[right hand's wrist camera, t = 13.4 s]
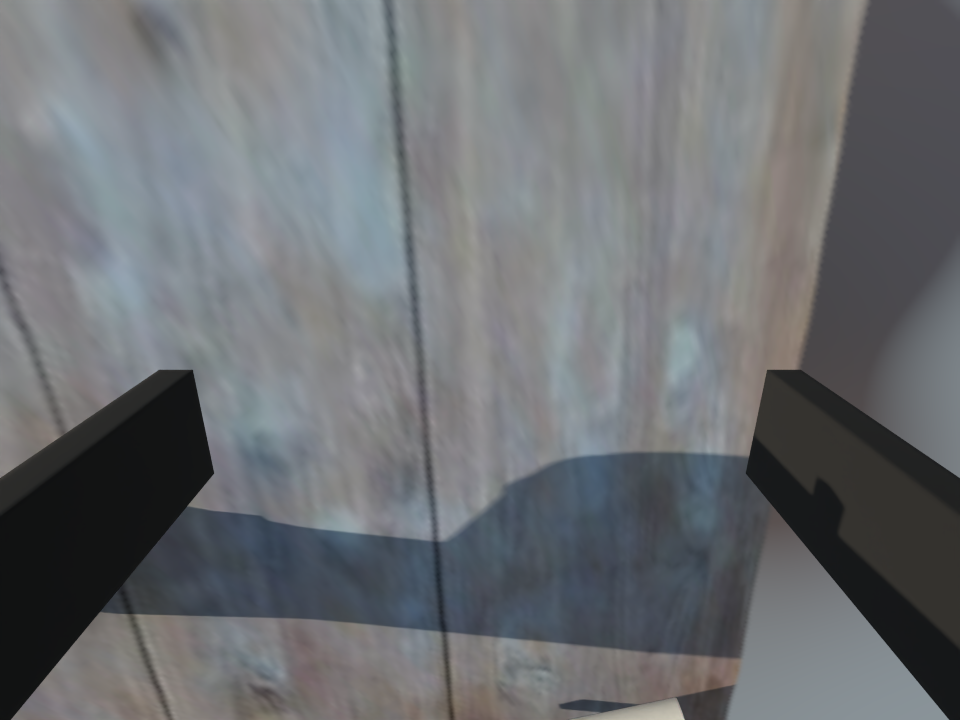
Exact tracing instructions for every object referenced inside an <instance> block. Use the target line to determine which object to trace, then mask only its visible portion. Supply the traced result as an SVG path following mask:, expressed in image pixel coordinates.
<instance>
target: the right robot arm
mask: <svg viewBox="0 0 960 720" xmlns="http://www.w3.org/2000/svg"><path fill="white" fill-rule="evenodd" d="M213 474H214V470H213V465H212V461H211V456H210V451H209V446H208V441H207V436H206V432H205V427H204V422H203V417H202V412H201V407H200V403H199V398H198V393H197V388H196V383H195V378H194V374H193V370H158V371H157V372H155V373H154V374H153V375H151V376H150V377H148V378H147V379H145V380H144V381H142V382H141V383H139V384H138V385H136V386H135V387H133V388H132V389H130V390H129V391H128V392H126V393H125V394H123V395H122V396H120V397H119V398H117V399H116V400H114V401H113V402H111V403H110V404H108V405H107V406H106V407H104V408H103V409H101V410H100V411H98V412H97V413H95V414H94V415H92V416H91V417H89V418H88V419H86V420H85V421H83V422H82V423H81V424H79V425H78V426H76V427H75V428H73V429H72V430H70V431H69V432H67V433H66V434H64V435H63V436H61V437H60V438H59V439H57V440H56V441H54V442H53V443H51V444H50V445H48V446H47V447H45V448H44V449H42V450H41V451H39V452H38V453H37V454H35V455H34V456H32V457H31V458H29V459H28V460H26V461H25V462H23V463H22V464H20V465H19V466H17V467H16V468H14V469H13V470H12V471H10V472H9V473H7V474H6V475H4V476H3V477H1V478H0V720H11V719H12V718H13V716H14V715H15V714H16V713H17V711H18V710H19V709H20V708H21V707H22V705H23V704H24V703H25V702H26V701H27V699H28V698H29V697H30V696H31V695H32V693H33V692H34V691H35V690H36V688H37V687H38V686H39V685H40V684H41V682H42V681H43V680H44V679H45V678H46V676H47V675H48V674H49V673H50V672H51V670H52V669H53V668H54V667H55V665H56V664H57V663H58V662H59V661H60V659H61V658H62V657H63V656H64V655H65V653H66V652H67V651H68V650H69V649H70V647H71V646H72V645H73V644H74V642H75V641H76V640H77V639H78V638H79V636H80V635H81V634H82V633H83V632H84V630H85V629H86V628H87V627H88V626H89V624H90V623H91V622H92V621H93V619H94V618H95V617H96V616H97V615H98V613H99V612H100V611H101V610H102V609H103V607H104V606H105V605H106V604H107V603H108V601H109V600H110V599H111V598H112V596H113V595H114V594H115V593H116V592H117V590H118V589H119V588H120V587H121V586H122V584H123V583H124V582H125V581H126V580H127V578H128V577H129V576H130V575H131V573H132V572H133V571H134V570H135V569H136V567H137V566H138V565H139V564H140V563H141V561H142V560H143V559H144V558H145V556H146V555H147V554H148V553H149V552H150V550H151V549H152V548H153V547H154V546H155V544H156V543H157V542H158V541H159V540H160V538H161V537H162V536H163V535H164V533H165V532H166V531H167V530H168V529H169V527H170V526H171V525H172V524H173V523H174V521H175V520H176V519H177V518H178V517H179V515H180V514H181V513H182V512H183V510H184V509H185V508H186V507H187V506H188V504H189V503H190V502H191V501H192V500H193V498H194V497H195V496H196V495H197V494H198V492H199V491H200V490H201V489H202V487H203V486H204V485H205V484H206V483H207V481H208V480H209V479H210V478H211V477H212V475H213ZM746 474H747V475H748V477H749V478H750V479H751V480H752V481H753V483H754V484H755V485H756V486H757V487H758V489H759V490H760V491H761V492H762V494H763V495H764V496H765V497H766V498H767V500H768V501H769V502H770V503H771V504H772V506H773V507H774V508H775V509H776V510H777V512H778V513H779V514H780V515H781V517H782V518H783V519H784V520H785V521H786V523H787V524H788V525H789V526H790V527H791V529H792V530H793V531H794V532H795V533H796V535H797V536H798V537H799V538H800V540H801V541H802V542H803V543H804V544H805V546H806V547H807V548H808V549H809V550H810V552H811V553H812V554H813V555H814V556H815V558H816V559H817V560H818V561H819V563H820V564H821V565H822V566H823V567H824V569H825V570H826V571H827V572H828V573H829V575H830V576H831V577H832V578H833V580H834V581H835V582H836V583H837V584H838V586H839V587H840V588H841V589H842V590H843V592H844V593H845V594H846V595H847V596H848V598H849V599H850V600H851V601H852V602H853V604H854V605H855V606H856V607H857V609H858V610H859V611H860V612H861V613H862V615H863V616H864V617H865V618H866V619H867V621H868V622H869V623H870V624H871V626H872V627H873V628H874V629H875V630H876V631H877V633H878V634H879V635H880V636H881V638H882V639H883V640H884V641H885V642H886V644H887V645H888V646H889V647H890V648H891V650H892V651H893V652H894V653H895V655H896V656H897V657H898V658H899V659H900V661H901V662H902V663H903V664H904V665H905V667H906V668H907V669H908V670H909V672H910V673H911V674H912V675H913V676H914V678H915V679H916V680H917V681H918V682H919V684H920V685H921V686H922V687H923V688H924V690H925V691H926V692H927V693H928V695H929V696H930V697H931V698H932V699H933V701H934V702H935V703H936V704H937V705H938V707H939V708H940V709H941V710H942V711H943V713H944V714H945V715H946V716H947V718H948V719H949V720H960V478H959V477H957V476H956V475H954V474H953V473H951V472H950V471H948V470H947V469H946V468H944V467H943V466H941V465H940V464H938V463H937V462H935V461H934V460H932V459H931V458H929V457H928V456H926V455H925V454H923V453H922V452H921V451H919V450H918V449H916V448H915V447H913V446H912V445H910V444H909V443H907V442H906V441H904V440H903V439H901V438H900V437H898V436H897V435H896V434H894V433H893V432H891V431H890V430H888V429H887V428H885V427H884V426H882V425H881V424H879V423H878V422H877V421H875V420H874V419H872V418H871V417H869V416H868V415H866V414H865V413H863V412H862V411H860V410H859V409H857V408H856V407H854V406H853V405H852V404H850V403H849V402H847V401H846V400H844V399H843V398H841V397H840V396H838V395H837V394H835V393H834V392H832V391H831V390H830V389H828V388H827V387H825V386H824V385H822V384H821V383H819V382H818V381H816V380H815V379H813V378H812V377H810V376H809V375H807V374H806V373H805V372H803V371H802V370H767V374H766V378H765V383H764V388H763V393H762V398H761V403H760V407H759V412H758V417H757V422H756V427H755V432H754V436H753V441H752V446H751V451H750V456H749V461H748V465H747V470H746Z"/></svg>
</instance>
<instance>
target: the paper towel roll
mask: <svg viewBox="0 0 960 720" xmlns="http://www.w3.org/2000/svg"><path fill="white" fill-rule="evenodd" d="M570 720H685V718H684V715H683V713H682V710H681V707H680V705H679V702H678V700H677V698H676V697H675V698H670V699H665V700H660V701H656V702H651V703H646V704H641V705H637V706H632V707H627V708H622V709H618V710H613V711H608V712H603V713H598V714H594V715H589V716H584V717H579V718H575V719H570Z"/></svg>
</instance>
